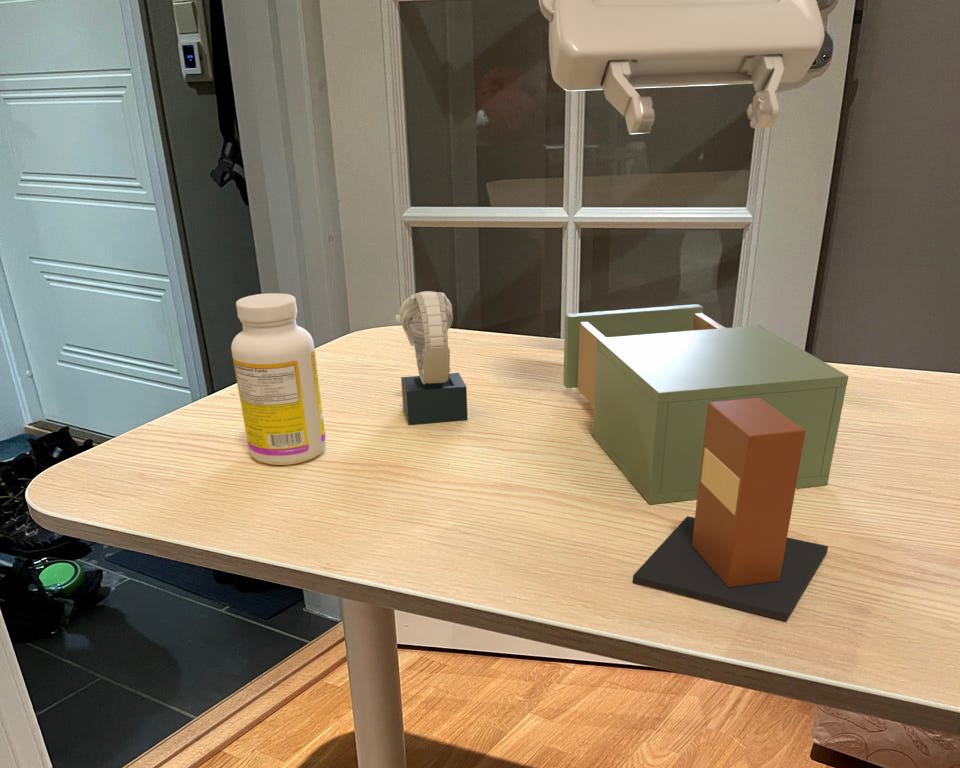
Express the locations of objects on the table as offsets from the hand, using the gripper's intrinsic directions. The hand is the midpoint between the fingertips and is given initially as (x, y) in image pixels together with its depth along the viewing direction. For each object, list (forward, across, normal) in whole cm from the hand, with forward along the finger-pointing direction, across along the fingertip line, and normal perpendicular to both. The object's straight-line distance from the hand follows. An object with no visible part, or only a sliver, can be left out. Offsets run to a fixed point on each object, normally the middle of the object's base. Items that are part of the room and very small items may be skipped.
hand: (704, 124), depth 67 cm
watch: (+8, -19, +26) cm, 34 cm away
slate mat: (+32, -4, +2) cm, 33 cm away
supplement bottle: (+12, -33, +22) cm, 41 cm away
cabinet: (+20, +1, +15) cm, 25 cm away
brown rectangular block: (+32, -5, +1) cm, 33 cm away
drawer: (+9, +1, +24) cm, 26 cm away
